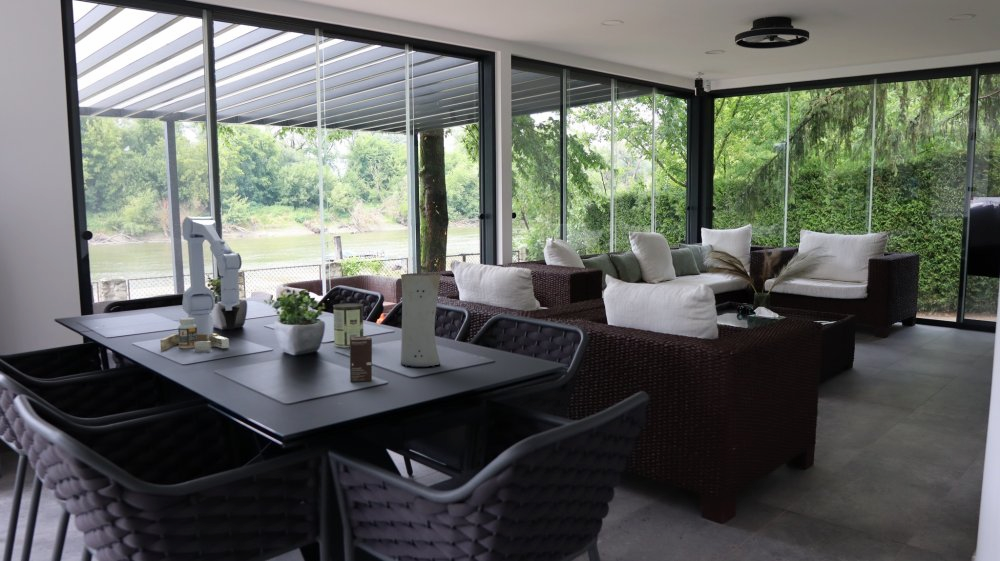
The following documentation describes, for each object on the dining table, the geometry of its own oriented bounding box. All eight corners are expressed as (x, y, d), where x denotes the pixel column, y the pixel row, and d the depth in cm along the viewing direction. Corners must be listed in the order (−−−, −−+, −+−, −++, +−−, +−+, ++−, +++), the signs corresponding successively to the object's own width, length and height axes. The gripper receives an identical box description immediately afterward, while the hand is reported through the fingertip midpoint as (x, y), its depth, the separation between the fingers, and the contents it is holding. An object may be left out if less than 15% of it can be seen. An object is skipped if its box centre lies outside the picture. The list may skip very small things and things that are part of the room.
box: (350, 382, 200) (349, 339, 199) (350, 379, 204) (349, 336, 203) (372, 381, 201) (372, 338, 200) (371, 378, 206) (371, 336, 204)
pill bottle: (192, 349, 244) (191, 319, 243) (175, 348, 244) (174, 319, 243) (200, 345, 250) (199, 317, 249) (183, 345, 250) (182, 317, 249)
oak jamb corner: (173, 343, 253) (173, 334, 253) (207, 343, 254) (207, 333, 253) (160, 350, 242) (160, 339, 241) (196, 350, 242) (196, 339, 242)
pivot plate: (209, 344, 253) (209, 343, 253) (223, 344, 254) (223, 343, 254) (205, 346, 249) (205, 346, 249) (218, 346, 249) (218, 346, 249)
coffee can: (348, 341, 261) (347, 302, 259) (370, 344, 255) (369, 304, 254) (327, 345, 252) (326, 305, 251) (349, 349, 247) (348, 307, 245)
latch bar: (208, 344, 251) (208, 334, 251) (216, 343, 253) (216, 333, 253) (221, 348, 244) (221, 338, 243) (229, 347, 246) (229, 337, 245)
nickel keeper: (199, 349, 244) (198, 339, 244) (213, 349, 244) (213, 339, 244) (194, 351, 240) (194, 342, 240) (209, 351, 241) (209, 341, 240)
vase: (450, 365, 225) (452, 274, 223) (417, 370, 215) (418, 276, 213) (423, 359, 233) (424, 272, 231) (389, 364, 223) (390, 273, 221)
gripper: (219, 286, 252) (220, 325, 253) (215, 291, 238) (216, 332, 239) (240, 286, 254) (241, 324, 255) (237, 291, 240) (238, 331, 241)
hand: (230, 328), depth 247 cm, fingers closed
